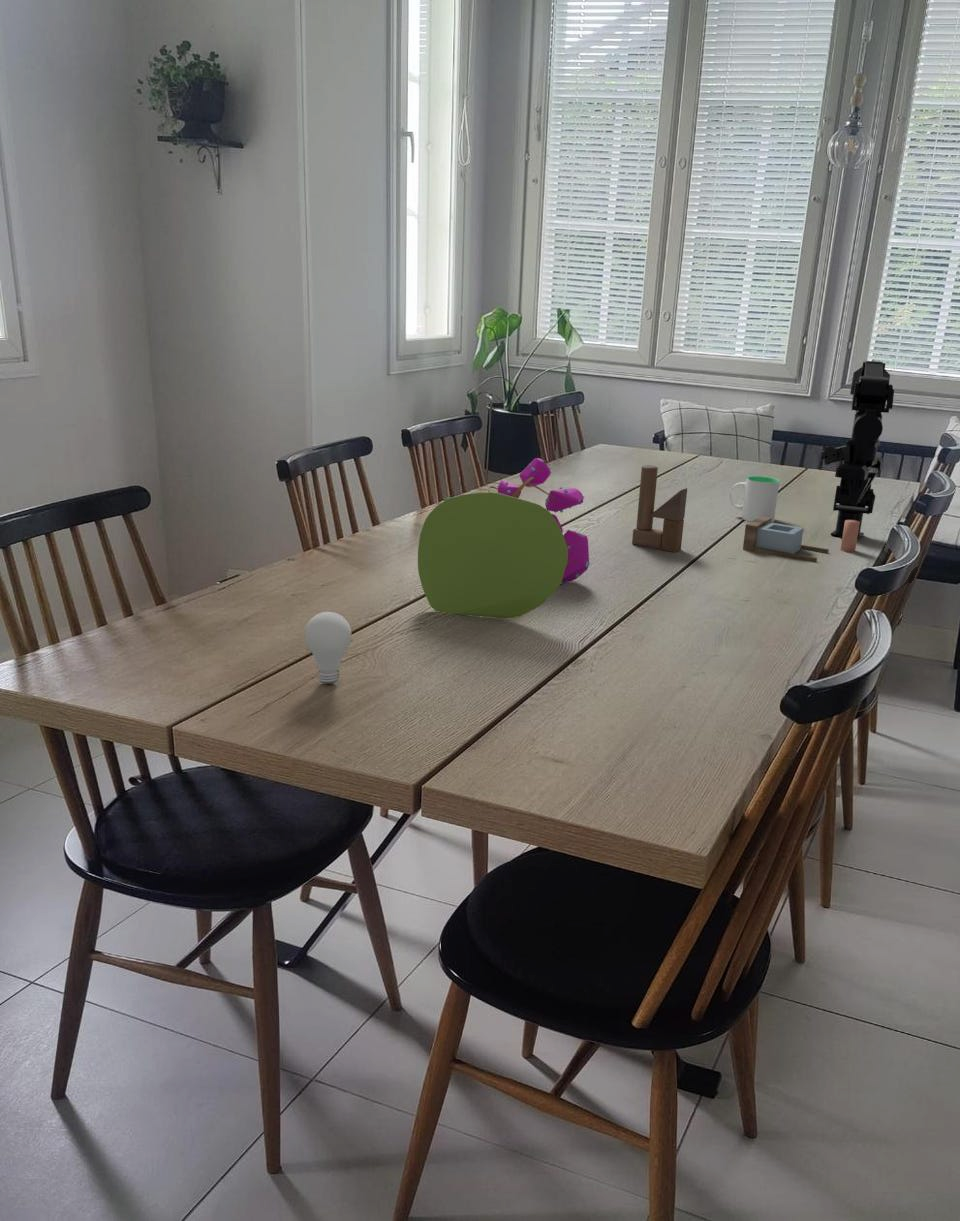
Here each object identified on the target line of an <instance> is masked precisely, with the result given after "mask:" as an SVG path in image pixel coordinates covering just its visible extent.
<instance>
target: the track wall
mask: <svg viewBox="0 0 960 1221" xmlns="http://www.w3.org/2000/svg"><path fill="white" fill-rule="evenodd" d="M771 519H772V518H770V517H764V516H761V517H759V518H757V519H755V520H754V521H752V522H751V521H749V522H748V523H746V524H745V530H744V536H743V545H742V550H743V551H748V552H755V553H756V552H757V553H762V554H767V555H773V556H777V557H779V556H780V557H784V558H790V559H794V560H795V559H796V560H802V561H807V562H811V563H812V562H813V563H817V561H818V557H814V556H808V555H802V554H797V553H794V554H792V553H787V552H781V551H775V550H770V549H764V548H758V547H756V540H757V532H758V528H760V527H762V526H763V525H765V524H767V523H769V522H770V523H772V522H771ZM800 550H806V551H811V552H818V553H821V554H829V550H830V549H828V548H824V547H819V546H813V545H812V546H811V545H806V544H801V549H800Z"/></svg>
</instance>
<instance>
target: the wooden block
mask: <svg viewBox="0 0 960 1221" xmlns="http://www.w3.org/2000/svg"><path fill="white" fill-rule="evenodd" d="M658 470H659V468H658V466H656V465H652V464H651V465H650V464H649V465H643V466H641V472H640V482H639V484H640V485H639V494H638V503H637V504H638V506H637V517H636V525H635V526H636V528H633V530H632V538H631V539H632V540H631V544H632V545H635V544H636V546H641V547H646V548H652V549H657V550H661V551H666V552H671V553H676V552H679V551H680V550H682V542H683V541H682V540H683V534H684V533H683V531H684V522H685V520H684V519H685V515H686V513H685V512H686V506H687V505H686V503H687V497H688V496H687V495H688V487H686V488H683V489H680V490H679V491H677V493H675V494H674V495H673V496H672V497H670V498H669V499H667V501H666V502H664V503H663V504H662V505H661V506H659V507H658V508H657V509H656V510H655V502H656V492H657V491H656V490H657V480H658V473H659V472H658ZM654 518H657V519H663V526H662V530H661V529H656V528H653V525H654V524H653V522H654Z"/></svg>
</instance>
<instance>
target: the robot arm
mask: <svg viewBox="0 0 960 1221" xmlns="http://www.w3.org/2000/svg"><path fill="white" fill-rule="evenodd" d="M890 379H891V375H890V373H889V371H887V370H886V363H885V362H883V361H876V360H873V361H872V360H866V361H863V362H862V365H861V367H859V368H858V369H856V370H855V371H854V372H853V374H852V379H851V385H850V387H851V388H850V392H849V393H850V394H849V395H850V396H851V395H852V399H851V411H855V413H854V418H853V423H852V424H853V425H852V431H851V436H850V437H851V438H850V439H849V440H847V441H846V445H841V446H835V445H830V446H826V447H824V450H823V451H821V457H820V458H821V460H823V465H824V466H828V465H829V466H830V465H831V464H834V463H837V462H842V461H843V463H842V464H840V465H839V466H838V467H836V468H835V472H834V477H835V478H840V481H839V485H836V489H835V494H834V501H833V505H832V508H833V509H832V510H833V511H838V513H837V518H836V524H835V525H836V526H835V529H834V530H833V531H832V532H831V533H830V536H833V537H840V538H842V537H843V531H844V524H845V520H855V521H859V522H860V524H859V530H858V537H857V540H859V539H860V538H861V537H863V536H864V535H865V533H864V532H862V531H861V530H862V522H863V516H864V514H866V515H870V514H873V510H874V505H875V500H876V494H875V491H874V488H872V482H874V479H875V478H876V477H877V475H878V473H876V472H872V469H877V471H882V470H883V469H884V465H885V464H884V463H885V460H884V459H883V457H882V456H878V455H877V451H878V447H879V446H881V440H880V437H881V435H882V433H883V427H884V426H883V422H882V421H883V415H882V413H886V414H887V413H888V414H889V412H890V410H893V405H894V397H895V389H894V386H893V384H890ZM870 468H871V469H870Z"/></svg>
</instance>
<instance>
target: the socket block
mask: <svg viewBox="0 0 960 1221" xmlns="http://www.w3.org/2000/svg"><path fill="white" fill-rule="evenodd" d="M804 529H805V528H804V527H802V526H801V527H800V526H794V525H788V524H782V523H777V522H776V523H775V522H771V523H770V522H769V523H767V524H765V525H763V526H762V527H760V528H758V532H757V540H756V547H758V548H764V549H770V550H775V551H781V552H787V553H792V554H797V552H799V551H800V550H802V549H801V545H802V542H803V533H804Z"/></svg>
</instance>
